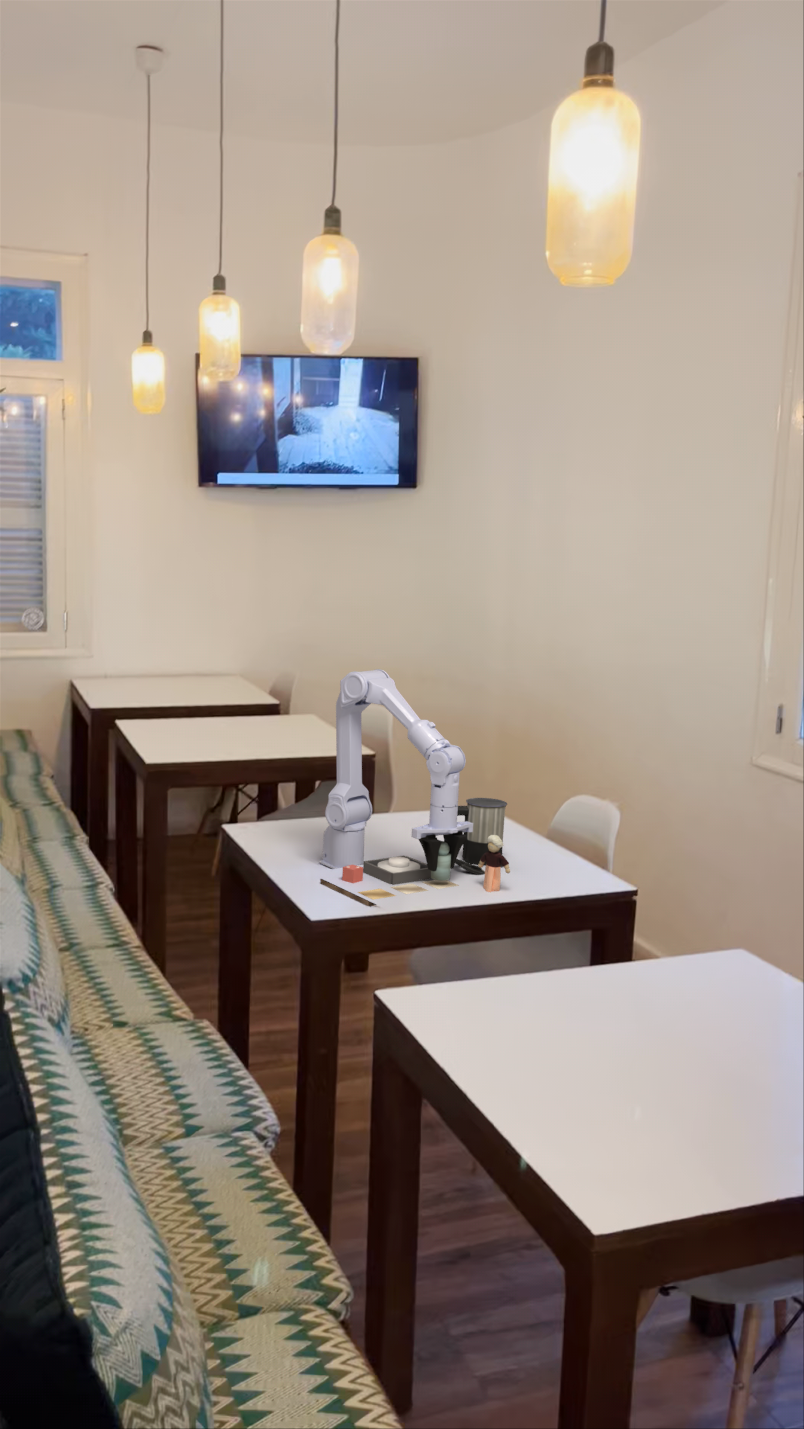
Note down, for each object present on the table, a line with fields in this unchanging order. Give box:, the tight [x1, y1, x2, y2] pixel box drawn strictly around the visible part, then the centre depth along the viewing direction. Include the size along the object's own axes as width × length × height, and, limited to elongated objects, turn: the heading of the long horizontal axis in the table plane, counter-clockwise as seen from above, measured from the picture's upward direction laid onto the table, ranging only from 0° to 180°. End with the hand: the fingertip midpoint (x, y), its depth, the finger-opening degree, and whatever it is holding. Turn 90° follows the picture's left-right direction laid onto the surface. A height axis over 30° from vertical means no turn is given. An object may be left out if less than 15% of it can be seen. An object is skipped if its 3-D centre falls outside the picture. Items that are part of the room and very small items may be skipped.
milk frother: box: [455, 797, 508, 876], centre depth 264 cm, size 14×16×15 cm
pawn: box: [431, 840, 451, 881], centre depth 247 cm, size 4×4×8 cm
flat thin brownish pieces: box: [320, 878, 460, 907], centre depth 248 cm, size 18×24×1 cm
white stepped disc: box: [378, 856, 420, 873], centre depth 253 cm, size 9×9×3 cm
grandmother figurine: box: [477, 835, 511, 893], centre depth 244 cm, size 8×4×13 cm, turn 62°
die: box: [341, 865, 364, 884], centre depth 248 cm, size 3×3×3 cm
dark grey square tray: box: [362, 855, 433, 886], centre depth 253 cm, size 11×11×2 cm
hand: (440, 868), depth 248 cm, fingers closed on pawn, 4 cm apart
